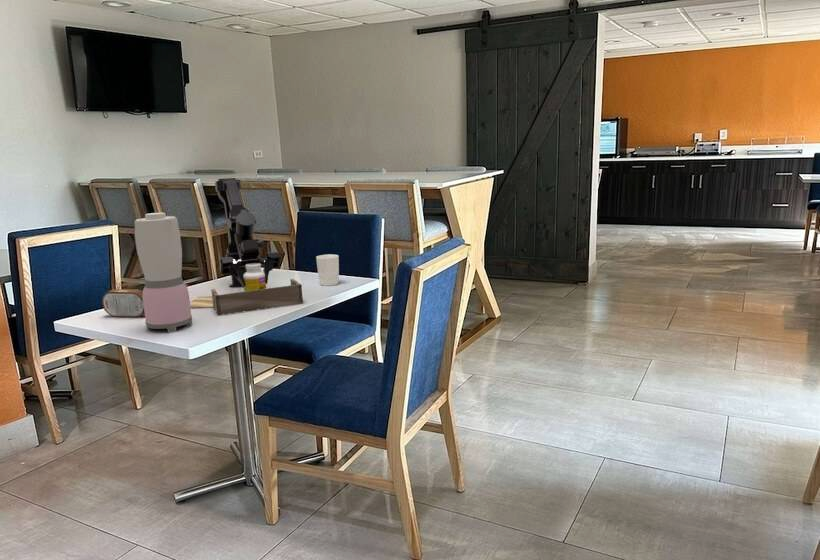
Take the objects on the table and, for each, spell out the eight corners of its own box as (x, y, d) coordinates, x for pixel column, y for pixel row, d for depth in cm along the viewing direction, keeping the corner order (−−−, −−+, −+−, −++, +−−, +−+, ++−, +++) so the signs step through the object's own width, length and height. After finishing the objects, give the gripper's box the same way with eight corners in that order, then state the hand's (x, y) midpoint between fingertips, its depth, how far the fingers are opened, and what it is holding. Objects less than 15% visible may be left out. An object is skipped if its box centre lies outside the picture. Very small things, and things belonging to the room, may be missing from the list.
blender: (202, 323, 177) (189, 211, 171) (166, 335, 167) (151, 216, 160) (165, 317, 185) (151, 210, 179) (129, 328, 175) (113, 215, 168)
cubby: (213, 307, 195) (211, 289, 193) (294, 296, 205) (293, 278, 203) (217, 315, 185) (215, 296, 184) (303, 303, 195) (301, 284, 194)
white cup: (335, 286, 217) (333, 258, 215) (314, 286, 219) (312, 258, 217) (343, 281, 224) (341, 254, 222) (323, 281, 226) (321, 254, 224)
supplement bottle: (262, 306, 193) (258, 266, 190) (242, 306, 194) (238, 266, 192) (270, 301, 199) (267, 262, 197) (251, 301, 201) (248, 262, 198)
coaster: (198, 297, 209) (198, 296, 209) (239, 296, 208) (239, 295, 208) (181, 308, 195) (181, 307, 195) (225, 307, 194) (225, 306, 194)
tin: (152, 315, 189) (149, 288, 187) (146, 318, 186) (142, 291, 184) (109, 314, 192) (105, 288, 190) (102, 317, 189) (98, 290, 187)
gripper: (216, 232, 192) (225, 273, 184) (276, 226, 199) (287, 266, 192) (216, 254, 201) (224, 293, 193) (273, 247, 208) (284, 286, 200)
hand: (255, 284), depth 194 cm, fingers closed on supplement bottle, 7 cm apart
